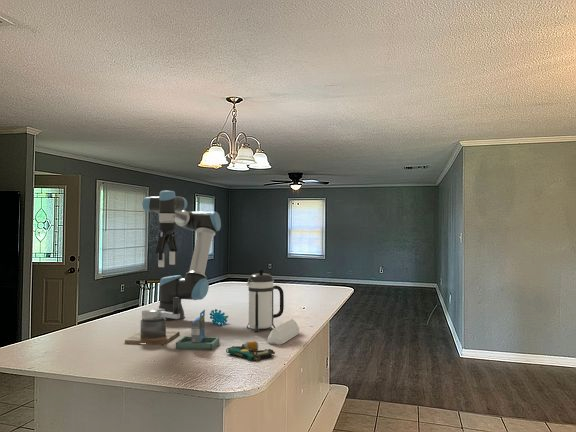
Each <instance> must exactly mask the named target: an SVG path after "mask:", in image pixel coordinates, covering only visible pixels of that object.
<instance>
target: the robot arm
mask: <svg viewBox="0 0 576 432" xmlns="http://www.w3.org/2000/svg"><path fill="white" fill-rule="evenodd" d="M187 207H188V200H187V199H186V198H184V197H182V196H178V195H177V196H176V192H175V191H174V190H161V191H160V192H159V196H146V197H144V198H143V200H142V209H143V210H144V211H145V212H149V213H150V212H153V213H156V214H158V221H159V224H158V230H159V231H161V232H158V238H157V239H158V240H157V244H156V249H155V253H156V254H158V255H157V256H158V257H157V262H158V263H157V264H158V268H165V253H164V252H165V249H166V247H167V245H168V248H169V250H170V251H169V252H168V254H169V257H168V258H169V259H168V260H169V262H168V263H169V265H172V266H173V265H176V252H178V245H177V241H176V235H175V233H176V232H174V231H175V230H176V225H177V226H179V227H181V228H184V229H186V230H188V231H195V232H196V234H197V236H196V239H195V240H196V241H195V246H194V249H193V254H192V258H191V263H190V266H189V271H188V272H186V273H185V277H182V275H181V274H179V275H169V276H164V277H161V278H160V281H159V306H158V308H160V309H165V312H172V313H173V297H179V313H180V318H179V319H178V320H181V319H184V318H185V311H184V307H183V304H182V300H190V301H191V300H192V301H199V300H203V299H204V298H206V296H207V294H208V292H209V289H210V287H209V281H208V277H207V275H205V273H206V268H207V263H208V259H209V253H210V249H211V244H212V241H213V237H215V236H216V234H217V232H219V231H221V228H222V223H221V222H222V220H221V218H220V217H221V216H220V214H219V213H218V212H217V211H213V210H212V211H211V210H210V211H187V210H186V209H187ZM165 319H166V321H176V320H177V319H174V318H167V317H165Z"/></svg>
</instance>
